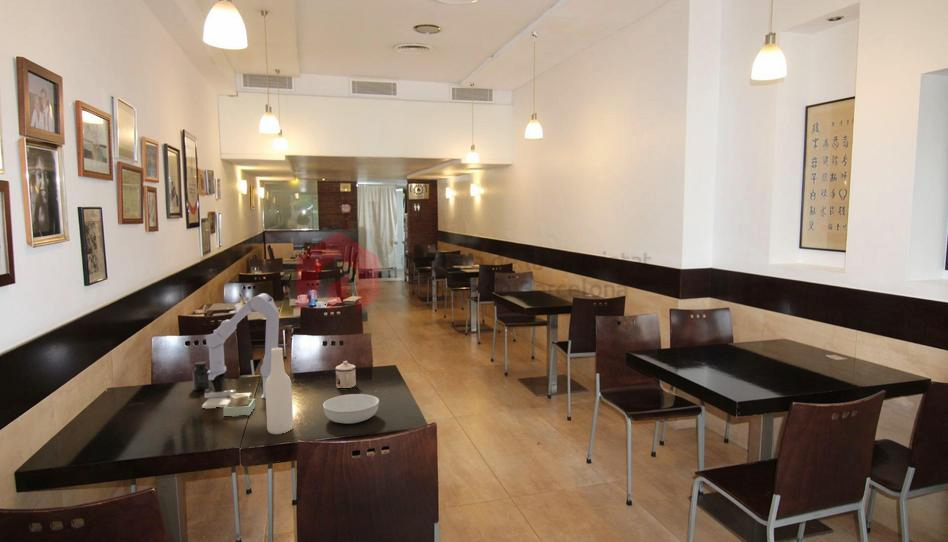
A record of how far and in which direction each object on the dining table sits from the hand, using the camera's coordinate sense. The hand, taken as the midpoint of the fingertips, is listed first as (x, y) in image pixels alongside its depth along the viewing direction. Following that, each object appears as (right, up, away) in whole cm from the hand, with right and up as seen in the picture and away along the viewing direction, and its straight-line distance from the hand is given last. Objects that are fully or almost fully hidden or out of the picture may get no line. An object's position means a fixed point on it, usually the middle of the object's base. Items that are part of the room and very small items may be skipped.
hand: (218, 391), depth 238 cm
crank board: (+7, -3, -6) cm, 10 cm away
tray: (+17, -4, -19) cm, 26 cm away
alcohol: (+40, -6, -38) cm, 55 cm away
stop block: (+17, -3, -19) cm, 25 cm away
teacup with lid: (+52, -1, +12) cm, 54 cm away
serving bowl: (+63, -5, -28) cm, 69 cm away
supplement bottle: (-13, -1, +11) cm, 17 cm away
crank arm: (+3, -1, -4) cm, 5 cm away
